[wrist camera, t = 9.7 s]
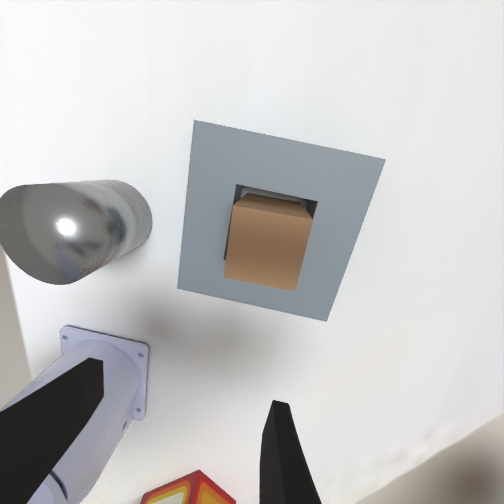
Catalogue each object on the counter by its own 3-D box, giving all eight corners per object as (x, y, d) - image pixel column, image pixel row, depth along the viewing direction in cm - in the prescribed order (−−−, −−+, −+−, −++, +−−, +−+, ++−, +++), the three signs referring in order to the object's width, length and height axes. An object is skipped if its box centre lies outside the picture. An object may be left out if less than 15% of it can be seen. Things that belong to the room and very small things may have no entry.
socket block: (318, 298, 18) (326, 321, 15) (192, 270, 18) (177, 288, 16) (364, 161, 15) (385, 159, 12) (209, 129, 15) (193, 119, 12)
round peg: (150, 255, 18) (95, 293, 13) (86, 241, 18) (3, 273, 13) (154, 188, 17) (91, 197, 11) (83, 173, 17) (-15, 174, 11)
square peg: (288, 251, 17) (295, 291, 12) (240, 242, 17) (223, 277, 12) (299, 202, 16) (313, 219, 10) (247, 193, 16) (233, 205, 10)
